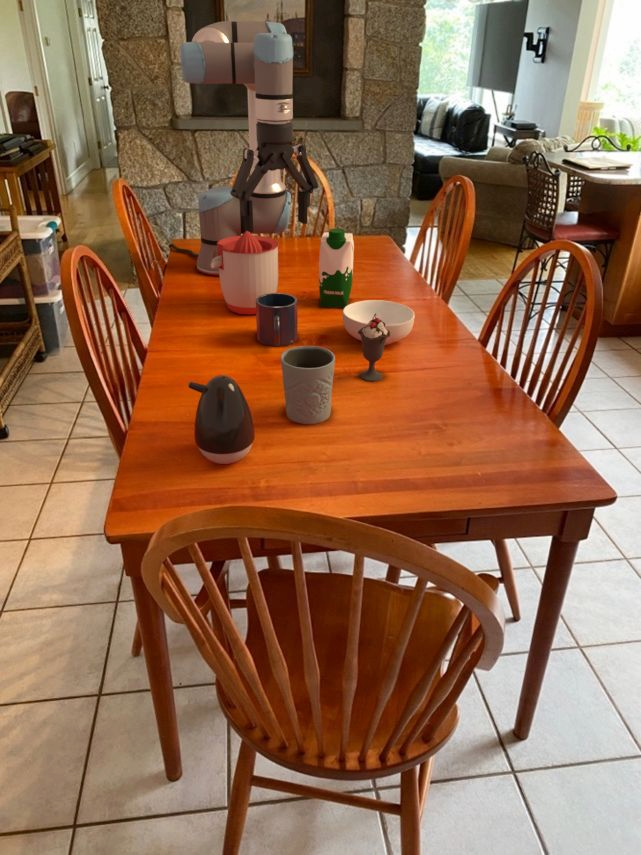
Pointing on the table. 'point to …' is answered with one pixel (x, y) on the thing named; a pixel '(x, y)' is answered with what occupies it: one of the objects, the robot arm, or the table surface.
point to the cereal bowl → (389, 312)
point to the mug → (276, 319)
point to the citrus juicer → (246, 270)
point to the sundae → (373, 346)
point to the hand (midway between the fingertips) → (276, 226)
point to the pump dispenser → (223, 421)
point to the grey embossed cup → (308, 383)
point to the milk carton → (336, 268)
